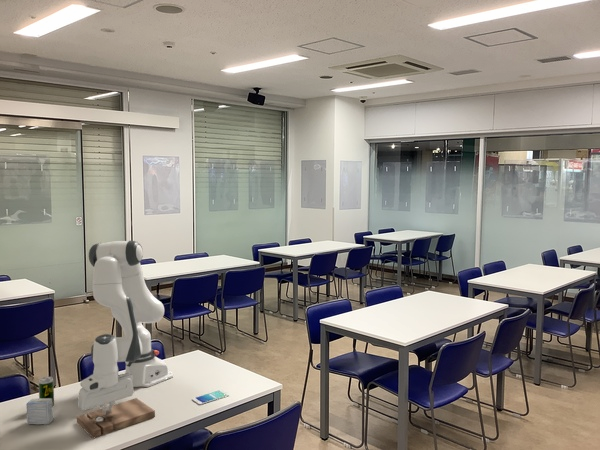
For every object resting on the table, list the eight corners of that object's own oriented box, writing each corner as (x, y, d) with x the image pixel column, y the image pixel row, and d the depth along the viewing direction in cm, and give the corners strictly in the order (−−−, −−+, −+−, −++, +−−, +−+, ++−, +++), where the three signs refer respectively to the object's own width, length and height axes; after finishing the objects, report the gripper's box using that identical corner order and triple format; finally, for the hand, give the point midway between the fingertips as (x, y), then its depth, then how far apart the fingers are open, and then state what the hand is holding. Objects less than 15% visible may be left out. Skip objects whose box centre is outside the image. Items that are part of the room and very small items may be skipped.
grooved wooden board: (136, 403, 208) (136, 398, 207) (154, 416, 196) (154, 410, 196) (77, 422, 191) (76, 416, 191) (93, 438, 180) (93, 431, 179)
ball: (102, 415, 191) (94, 416, 189) (106, 418, 189) (97, 419, 187) (101, 423, 191) (92, 424, 189) (104, 426, 189) (96, 427, 187)
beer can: (36, 408, 203) (35, 379, 202) (49, 403, 208) (47, 375, 207) (45, 411, 201) (43, 382, 200) (57, 406, 205) (56, 378, 204)
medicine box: (53, 419, 194) (52, 397, 193) (48, 425, 189) (47, 402, 189) (32, 419, 194) (31, 398, 193) (27, 425, 189) (26, 403, 188)
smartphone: (230, 394, 216) (199, 404, 206) (230, 396, 216) (199, 406, 206) (221, 389, 222) (191, 398, 212) (221, 391, 222) (191, 400, 212)
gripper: (128, 369, 199) (129, 402, 200) (75, 383, 185) (77, 419, 186) (135, 373, 195) (136, 407, 196) (82, 388, 181) (83, 425, 182)
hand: (107, 413), depth 191 cm, fingers closed
